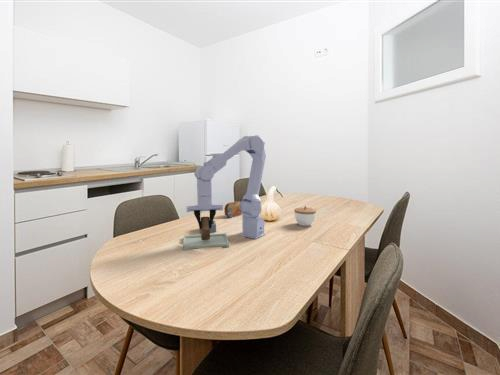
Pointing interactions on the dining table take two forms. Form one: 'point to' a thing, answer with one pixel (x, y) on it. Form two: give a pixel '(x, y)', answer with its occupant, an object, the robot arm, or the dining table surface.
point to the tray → (205, 241)
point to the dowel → (205, 228)
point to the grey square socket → (213, 228)
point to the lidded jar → (305, 216)
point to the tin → (233, 209)
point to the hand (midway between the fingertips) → (205, 228)
